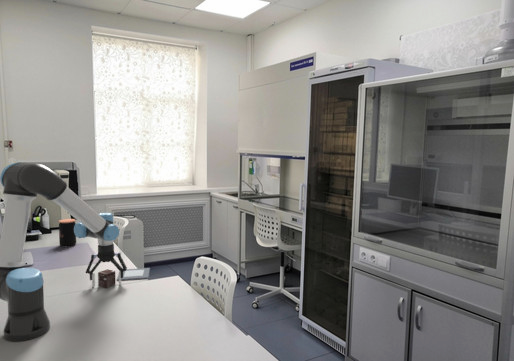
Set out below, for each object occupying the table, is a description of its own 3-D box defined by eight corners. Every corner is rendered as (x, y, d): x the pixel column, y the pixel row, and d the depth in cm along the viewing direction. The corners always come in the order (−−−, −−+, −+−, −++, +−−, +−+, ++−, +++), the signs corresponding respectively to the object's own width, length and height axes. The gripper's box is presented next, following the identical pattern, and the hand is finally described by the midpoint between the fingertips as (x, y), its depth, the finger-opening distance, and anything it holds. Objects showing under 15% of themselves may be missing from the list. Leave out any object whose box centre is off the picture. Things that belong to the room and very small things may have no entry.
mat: (148, 278, 201) (148, 277, 201) (116, 280, 197) (116, 279, 197) (149, 269, 217) (149, 267, 217) (120, 270, 213) (120, 269, 213)
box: (97, 286, 189) (97, 272, 189) (107, 282, 195) (107, 269, 194) (106, 288, 187) (106, 274, 186) (115, 284, 192) (115, 270, 191)
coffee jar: (60, 244, 269) (59, 219, 267) (76, 242, 273) (75, 218, 271) (59, 247, 259) (58, 222, 257) (76, 246, 263) (75, 221, 262)
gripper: (131, 240, 195) (132, 280, 197) (81, 243, 190) (82, 284, 192) (130, 244, 188) (131, 285, 190) (78, 246, 182) (79, 289, 184)
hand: (107, 285), depth 191 cm, fingers open, 12 cm apart
